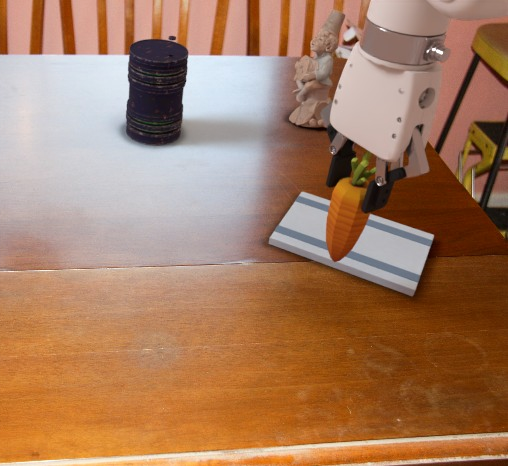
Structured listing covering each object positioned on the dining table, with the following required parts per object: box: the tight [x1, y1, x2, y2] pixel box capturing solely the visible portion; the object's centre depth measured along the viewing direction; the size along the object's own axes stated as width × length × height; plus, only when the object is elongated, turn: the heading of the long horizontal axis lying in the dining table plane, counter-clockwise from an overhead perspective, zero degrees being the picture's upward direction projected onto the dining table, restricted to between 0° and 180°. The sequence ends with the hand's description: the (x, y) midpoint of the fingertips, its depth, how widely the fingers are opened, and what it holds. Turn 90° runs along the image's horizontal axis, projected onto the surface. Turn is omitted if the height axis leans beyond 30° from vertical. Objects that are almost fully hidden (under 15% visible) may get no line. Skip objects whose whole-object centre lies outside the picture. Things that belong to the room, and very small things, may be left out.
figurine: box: [288, 9, 346, 129], centre depth 116 cm, size 9×8×20 cm
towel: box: [268, 191, 435, 297], centre depth 92 cm, size 20×14×1 cm
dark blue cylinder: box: [125, 35, 189, 146], centre depth 110 cm, size 10×10×18 cm
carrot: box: [326, 151, 376, 262], centre depth 76 cm, size 5×5×15 cm
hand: (354, 195), depth 74 cm, fingers closed on carrot, 4 cm apart
